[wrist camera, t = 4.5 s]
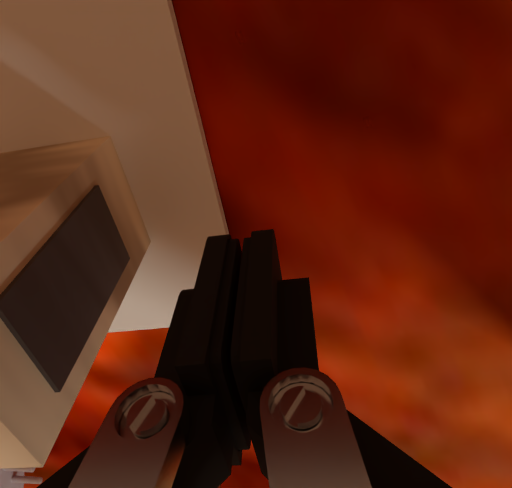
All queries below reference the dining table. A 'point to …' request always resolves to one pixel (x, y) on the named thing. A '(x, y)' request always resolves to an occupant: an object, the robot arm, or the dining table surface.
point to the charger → (17, 477)
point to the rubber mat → (118, 124)
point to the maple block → (58, 282)
